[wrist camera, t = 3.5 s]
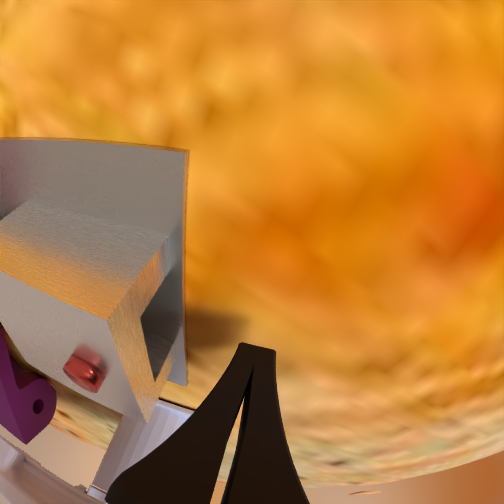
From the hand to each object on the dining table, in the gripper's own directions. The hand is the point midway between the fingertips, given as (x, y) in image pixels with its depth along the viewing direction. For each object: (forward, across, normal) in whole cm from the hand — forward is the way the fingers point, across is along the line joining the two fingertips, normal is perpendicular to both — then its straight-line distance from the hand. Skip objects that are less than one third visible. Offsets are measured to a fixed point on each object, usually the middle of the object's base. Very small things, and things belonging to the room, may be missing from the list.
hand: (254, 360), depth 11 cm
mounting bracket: (+2, +28, +19) cm, 34 cm away
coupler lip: (+2, +16, 0) cm, 16 cm away
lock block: (+1, +8, 0) cm, 8 cm away
